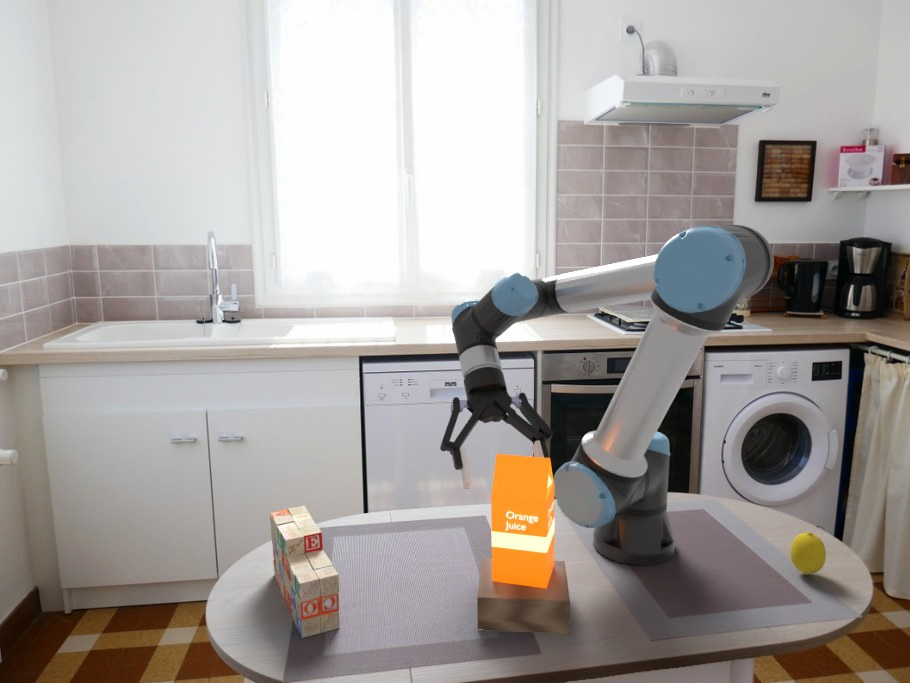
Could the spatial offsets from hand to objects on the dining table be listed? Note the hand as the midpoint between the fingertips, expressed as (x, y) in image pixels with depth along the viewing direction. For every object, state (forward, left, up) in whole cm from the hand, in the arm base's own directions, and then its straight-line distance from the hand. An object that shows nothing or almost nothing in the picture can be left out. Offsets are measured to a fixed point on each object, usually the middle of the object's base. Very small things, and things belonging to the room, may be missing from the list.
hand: (506, 482), depth 119 cm
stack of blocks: (+34, +7, -19) cm, 39 cm away
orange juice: (-3, +7, -13) cm, 15 cm away
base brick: (-2, +9, -19) cm, 21 cm away
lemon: (-53, -3, -18) cm, 56 cm away
